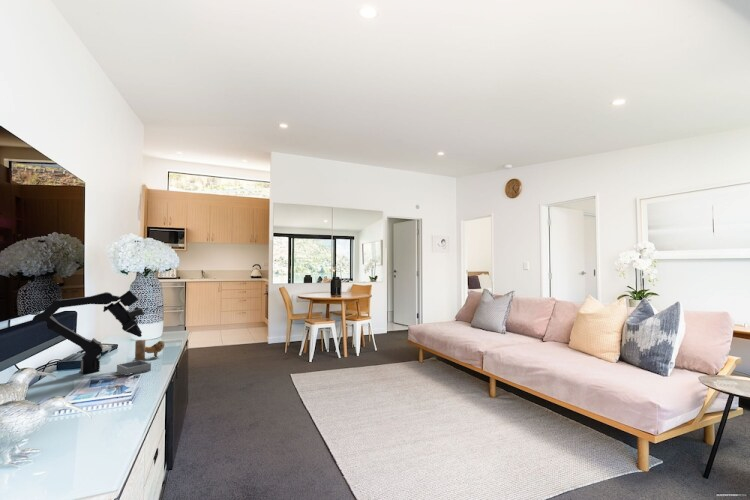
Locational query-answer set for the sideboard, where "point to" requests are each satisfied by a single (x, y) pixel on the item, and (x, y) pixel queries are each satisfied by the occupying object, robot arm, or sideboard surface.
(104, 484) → the sideboard surface
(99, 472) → the sideboard surface
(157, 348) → the lion figurine
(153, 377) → the sideboard surface
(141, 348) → the walnut handle
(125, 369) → the box
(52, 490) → the sideboard surface
